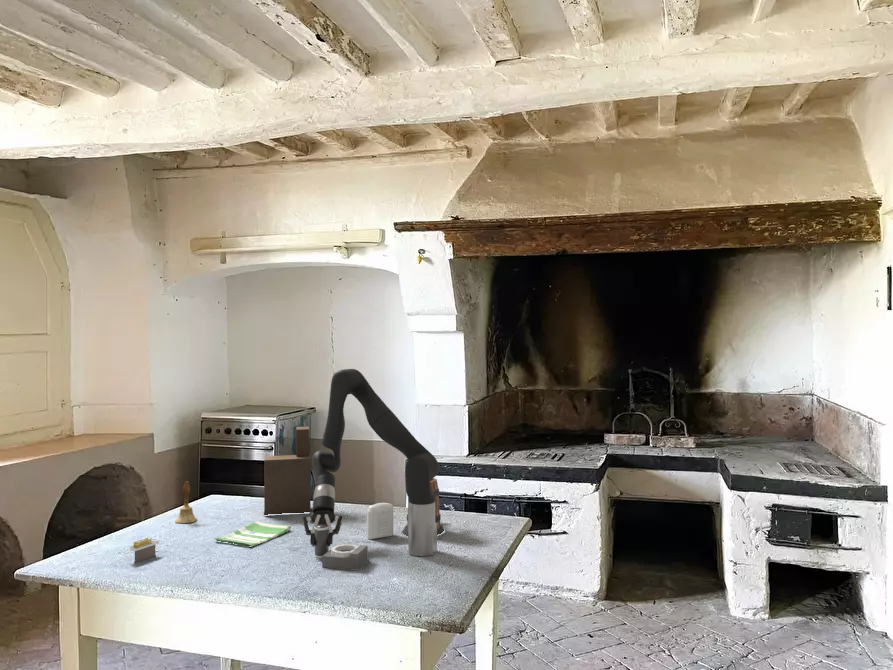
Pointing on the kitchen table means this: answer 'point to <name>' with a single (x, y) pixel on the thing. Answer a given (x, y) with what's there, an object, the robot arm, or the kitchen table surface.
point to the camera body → (346, 557)
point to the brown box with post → (288, 479)
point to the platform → (144, 549)
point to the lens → (321, 539)
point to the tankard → (435, 490)
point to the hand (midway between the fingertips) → (321, 545)
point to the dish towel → (247, 539)
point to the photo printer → (379, 520)
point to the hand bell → (186, 508)
